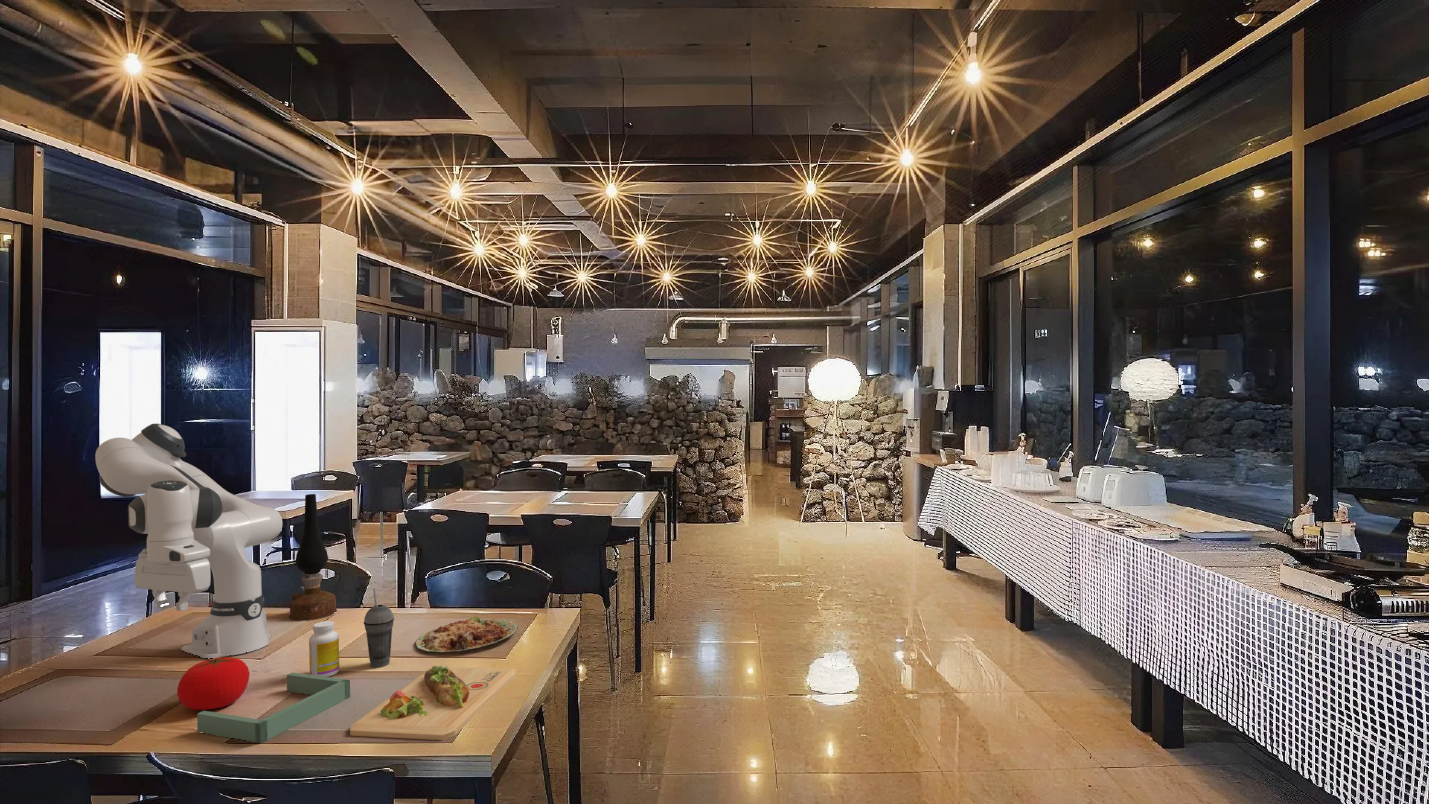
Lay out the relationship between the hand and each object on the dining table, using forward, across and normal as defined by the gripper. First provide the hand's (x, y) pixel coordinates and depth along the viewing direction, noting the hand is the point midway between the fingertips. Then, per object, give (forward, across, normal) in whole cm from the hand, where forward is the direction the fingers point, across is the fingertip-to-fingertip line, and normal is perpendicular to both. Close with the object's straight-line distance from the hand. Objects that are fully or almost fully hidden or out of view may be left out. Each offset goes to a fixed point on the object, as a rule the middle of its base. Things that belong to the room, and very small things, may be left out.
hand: (172, 608), depth 167 cm
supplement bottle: (+21, +23, +21) cm, 38 cm away
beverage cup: (+21, +32, +30) cm, 49 cm away
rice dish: (+22, +42, +53) cm, 71 cm away
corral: (+21, +31, 0) cm, 37 cm away
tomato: (+21, +13, 0) cm, 25 cm away
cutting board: (+22, +63, +15) cm, 68 cm away
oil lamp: (+21, -23, +60) cm, 68 cm away
